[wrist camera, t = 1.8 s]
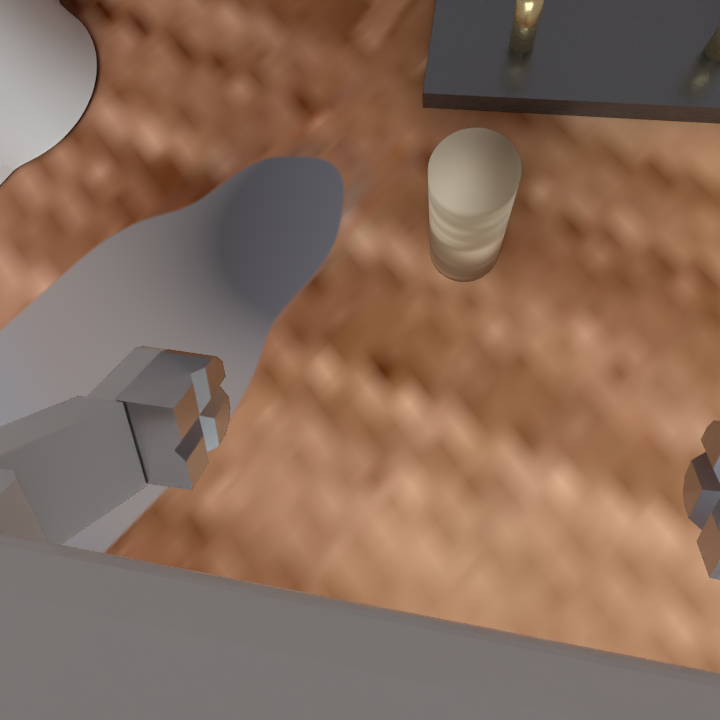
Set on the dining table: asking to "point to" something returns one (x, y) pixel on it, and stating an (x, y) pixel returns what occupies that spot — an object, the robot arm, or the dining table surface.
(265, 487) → the dining table surface
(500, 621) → the dining table surface
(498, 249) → the birch post
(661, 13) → the pin plate
